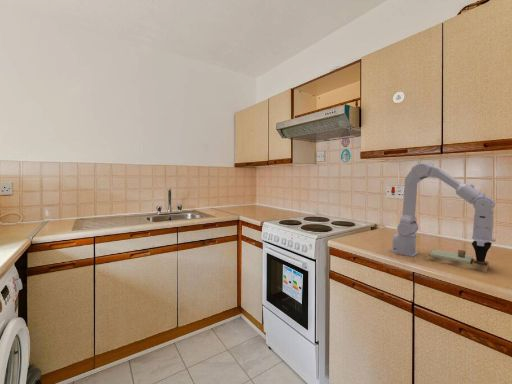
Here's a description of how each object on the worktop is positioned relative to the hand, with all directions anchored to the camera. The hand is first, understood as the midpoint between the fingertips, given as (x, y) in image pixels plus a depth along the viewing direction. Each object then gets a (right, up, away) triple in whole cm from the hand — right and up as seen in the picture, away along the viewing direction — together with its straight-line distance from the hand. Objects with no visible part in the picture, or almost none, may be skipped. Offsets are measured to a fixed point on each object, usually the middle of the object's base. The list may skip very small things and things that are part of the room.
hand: (480, 260), depth 101 cm
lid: (-7, 0, +7) cm, 10 cm away
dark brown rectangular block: (0, -3, 0) cm, 3 cm away
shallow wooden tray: (-5, -3, +6) cm, 9 cm away
